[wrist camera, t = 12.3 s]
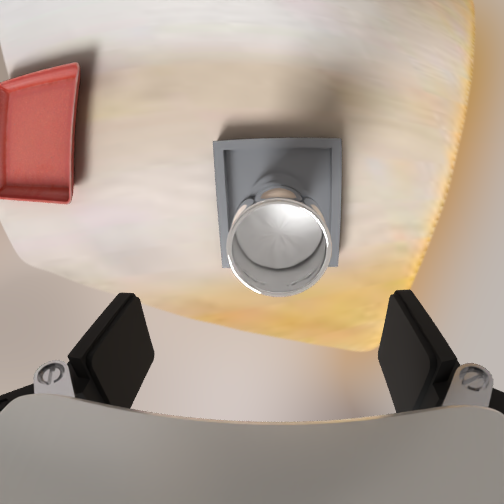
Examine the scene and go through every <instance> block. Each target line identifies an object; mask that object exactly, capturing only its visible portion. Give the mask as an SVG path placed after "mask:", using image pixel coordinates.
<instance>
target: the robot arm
mask: <svg viewBox="0 0 504 504" xmlns="http://www.w3.org/2000/svg"><path fill="white" fill-rule="evenodd" d="M68 358H69V362H68V363H67V364H66V363H65V362H63V361H60V360H53V361H49V362H47V363H44V364H43V365H41V366H40V367H39V368H38V369H37V370H36V372H35V374H34V384H31V385H28V386H25V387H23V388H20V389H17V390H14V391H12V392H9V393H6V394H3V395H1V396H0V504H504V392H501V391H499V390H496V389H494V388H493V378H492V375H491V374H490V372H489V371H488V370H487V369H486V368H484V367H483V366H480V365H478V364H474V363H467V364H463V365H461V366H460V364H459V362H458V361H457V358H456V356H455V354H454V353H453V351H452V350H451V348H450V347H449V345H448V343H447V342H446V340H445V339H444V337H443V336H442V334H441V333H440V331H439V330H438V328H437V327H436V325H435V324H434V322H433V321H432V319H431V318H430V317H429V315H428V313H427V312H426V311H425V309H424V308H423V306H422V305H421V303H420V302H419V301H418V299H417V298H416V296H415V295H414V294H413V292H412V291H411V290H396V291H395V293H394V294H393V295H390V298H389V303H388V309H387V314H386V319H385V324H384V328H383V333H382V337H381V342H380V346H379V351H378V360H379V363H380V366H381V368H382V371H383V374H384V377H385V380H386V383H387V386H388V388H389V391H390V394H391V397H392V400H393V403H394V406H395V410H396V413H394V414H387V415H379V416H370V417H361V418H351V419H340V420H325V421H303V422H250V421H227V420H213V419H202V418H192V417H182V416H174V415H166V414H159V413H153V412H146V411H140V410H135V409H130V408H131V406H132V404H133V401H134V399H135V397H136V395H137V393H138V391H139V389H140V387H141V384H142V383H143V380H144V378H145V376H146V374H147V372H148V370H149V368H150V366H151V364H152V362H153V360H154V350H153V346H152V343H151V339H150V336H149V332H148V329H147V325H146V321H145V318H144V314H143V310H142V306H141V302H140V299H139V298H138V297H136V296H135V294H134V293H119V294H118V295H117V296H116V297H115V299H114V300H113V301H112V302H111V303H110V305H109V306H108V307H107V308H106V309H105V310H104V311H103V313H102V314H101V315H100V316H99V317H98V319H97V320H96V321H95V322H94V324H93V325H92V326H91V327H90V329H89V330H88V331H87V332H86V333H85V335H84V336H83V337H82V338H81V340H80V341H79V342H78V343H77V344H76V346H75V347H74V348H73V349H72V351H71V352H70V353H69V355H68Z"/></svg>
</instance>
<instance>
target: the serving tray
mask: <svg viewBox="0 0 504 504" xmlns="http://www.w3.org/2000/svg"><path fill="white" fill-rule="evenodd" d="M213 152H214V168H215V182H216V196H217V209H218V222H219V234H220V246H221V257H222V268H231V267H230V264H229V261H228V257H227V249H226V246H227V238H228V234H229V231H230V227H231V223H232V220H233V217H234V214H235V212H236V210H237V208H238V206H239V204H240V203H241V202H242V200H243V199H244V198H245V196H246V195H247V194H248V193H249V192H251V191H252V189H253V187H254V185H255V184H256V182H257V181H258V180H259V179H260V178H262V177H263V176H265V175H267V174H270V173H274V172H282V173H287V174H290V175H292V176H294V177H295V178H297V179H298V180H299V181H300V182H301V183H302V185H303V187H304V189H305V190H306V191H307V192H308V193H309V194H310V195H311V196H312V197H313V198H314V199H315V200H316V202H317V203H318V205H319V206H320V208H321V210H322V212H323V214H324V217H325V220H326V223H327V227H328V230H329V233H330V237H331V242H332V253H331V258H330V262H329V265H328V267H337V266H338V257H339V241H340V219H341V181H342V145H341V138H259V139H238V140H222V141H213Z"/></svg>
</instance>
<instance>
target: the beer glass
mask: <svg viewBox="0 0 504 504" xmlns="http://www.w3.org/2000/svg"><path fill="white" fill-rule="evenodd" d="M226 249H227V257H228V261H229V264H230V267H231V269H232V271H233V272H234V274H235V275H236V277H237V278H238V279H239V280H240V281H241V282H242V283H243V284H244V285H245V286H247V287H248V288H250V289H251V290H253V291H255V292H257V293H260V294H263V295H267V296H272V297H286V296H292V295H296V294H299V293H301V292H303V291H305V290H307V289H309V288H310V287H312V286H313V285H314V284H315V283H316V282H317V281H318V280H319V279H320V278H321V277H322V276H323V274H324V273H325V271H326V269H327V267H328V265H329V262H330V258H331V253H332V242H331V237H330V233H329V230H328V227H327V223H326V220H325V217H324V214H323V212H322V210H321V208H320V206H319V205H318V203H317V202H316V200H315V199H314V198H313V197H312V196H311V195H310V194H309V193H308V192H307V191H306V190H305V189H304V187H303V185H302V183H301V182H300V181H299V180H298V179H297V178H295V177H294V176H292V175H290V174H287V173H282V172H274V173H270V174H267V175H265V176H263V177H262V178H260V179H259V180H258V181H257V182H256V184H255V185H254V187H253V189H252V191H251V192H249V193H248V194H247V195H246V196H245V198H244V199H243V200H242V202H241V203H240V204H239V206H238V208H237V210H236V212H235V214H234V217H233V220H232V223H231V227H230V231H229V234H228V238H227V246H226Z"/></svg>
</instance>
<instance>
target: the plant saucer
mask: <svg viewBox="0 0 504 504" xmlns="http://www.w3.org/2000/svg"><path fill="white" fill-rule="evenodd" d="M79 84H80V66H79V63H78V62H73V63H69V64H64V65H59V66H55V67H51V68H47V69H43V70H40V71H36V72H32V73H29V74H25V75H22V76H19V77H16V78H12V79H9V80H6V81H3V82H1V83H0V199H5V200H17V201H32V202H45V203H56V204H69V203H71V200H72V196H73V185H74V138H75V122H76V111H77V101H78V92H79Z"/></svg>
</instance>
